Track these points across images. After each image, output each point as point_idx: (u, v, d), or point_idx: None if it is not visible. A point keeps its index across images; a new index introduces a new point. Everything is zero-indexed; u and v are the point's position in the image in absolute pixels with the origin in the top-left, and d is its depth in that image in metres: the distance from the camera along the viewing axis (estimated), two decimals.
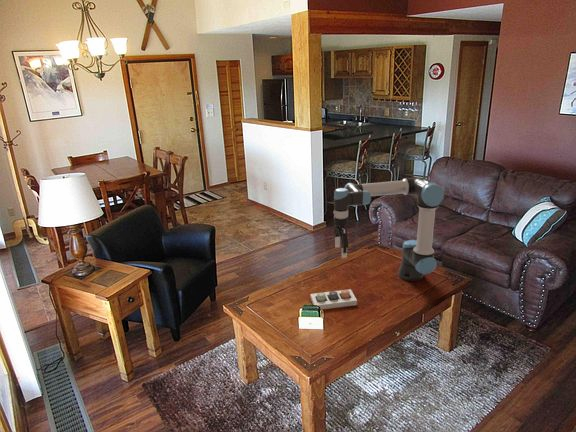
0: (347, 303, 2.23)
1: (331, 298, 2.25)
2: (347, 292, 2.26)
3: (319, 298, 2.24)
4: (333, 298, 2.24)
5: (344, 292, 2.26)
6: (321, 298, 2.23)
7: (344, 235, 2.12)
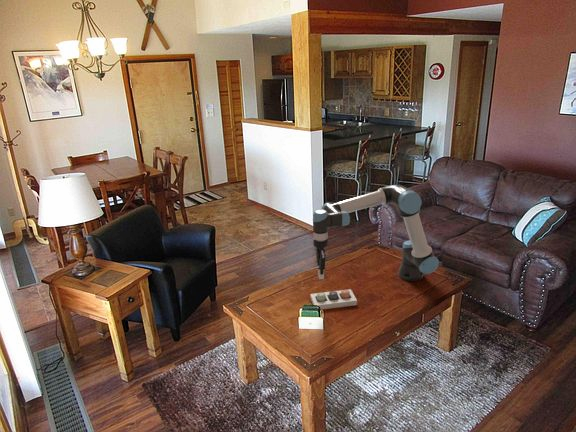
0: (347, 303, 2.23)
1: (331, 298, 2.25)
2: (347, 292, 2.26)
3: (319, 298, 2.24)
4: (333, 298, 2.24)
5: (344, 292, 2.26)
6: (321, 298, 2.23)
7: (322, 260, 2.11)
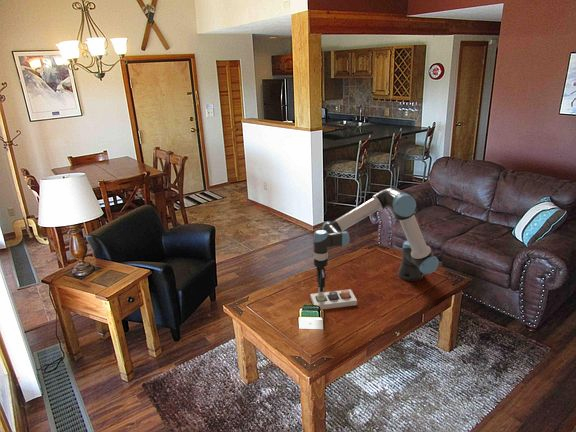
0: (347, 303, 2.23)
1: (331, 298, 2.25)
2: (347, 292, 2.26)
3: (319, 299, 2.24)
4: (333, 298, 2.24)
5: (344, 292, 2.26)
6: (321, 299, 2.23)
7: (322, 279, 2.16)
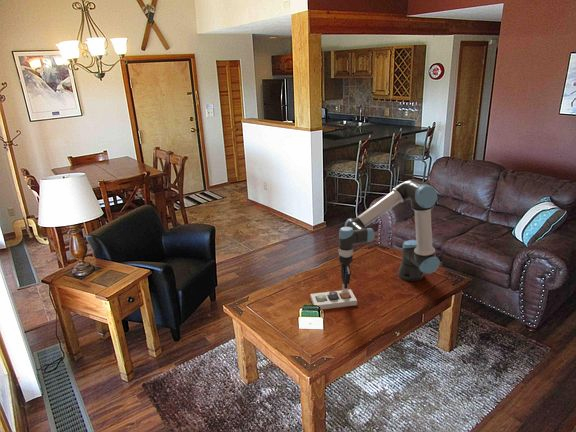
0: (347, 303, 2.23)
1: (331, 298, 2.25)
2: (347, 293, 2.27)
3: (319, 300, 2.24)
4: (333, 298, 2.24)
5: (344, 293, 2.27)
6: (321, 300, 2.24)
7: (347, 275, 2.17)
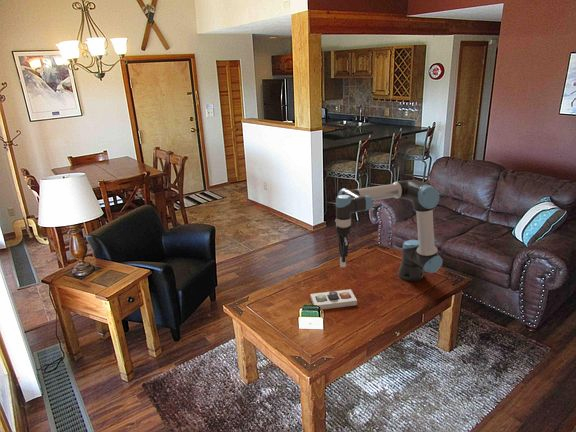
0: (347, 303, 2.23)
1: (331, 298, 2.25)
2: (347, 294, 2.27)
3: (319, 300, 2.24)
4: (333, 298, 2.24)
5: (344, 294, 2.27)
6: (321, 300, 2.24)
7: (345, 247, 2.03)
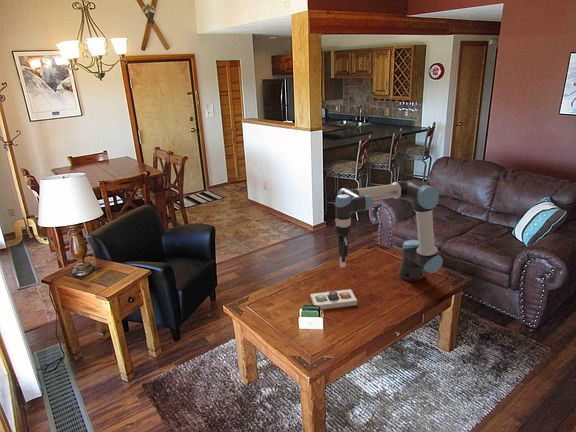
0: (347, 303, 2.23)
1: (331, 298, 2.25)
2: (347, 294, 2.27)
3: (319, 300, 2.24)
4: (333, 298, 2.24)
5: (344, 294, 2.27)
6: (321, 300, 2.24)
7: (345, 247, 2.02)
